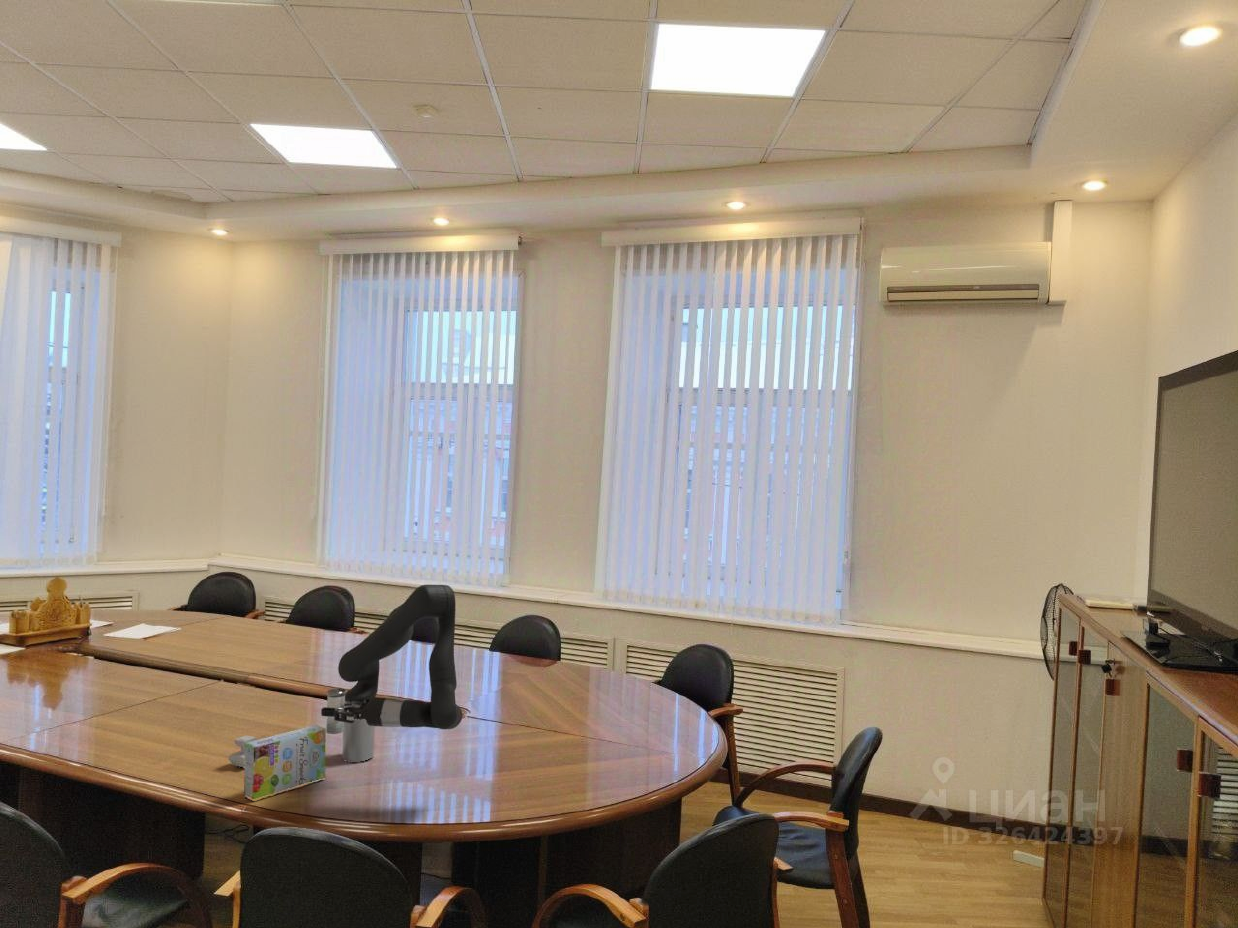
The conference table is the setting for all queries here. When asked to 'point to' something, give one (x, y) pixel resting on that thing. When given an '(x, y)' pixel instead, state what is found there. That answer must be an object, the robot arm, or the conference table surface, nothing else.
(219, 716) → the conference table surface
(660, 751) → the conference table surface
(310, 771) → the snack box
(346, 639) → the conference table surface
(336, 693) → the metal tin
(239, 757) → the white blocky piece
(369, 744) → the robot arm
